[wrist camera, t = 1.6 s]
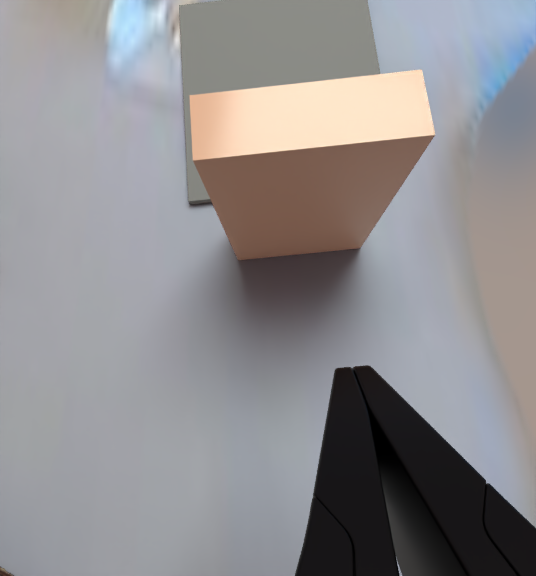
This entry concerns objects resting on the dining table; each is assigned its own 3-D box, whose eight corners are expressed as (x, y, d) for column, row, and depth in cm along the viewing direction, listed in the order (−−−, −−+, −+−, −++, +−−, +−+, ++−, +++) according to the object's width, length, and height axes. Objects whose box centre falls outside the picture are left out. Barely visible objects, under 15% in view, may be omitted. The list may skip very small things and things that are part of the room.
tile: (360, 248, 24) (435, 134, 12) (238, 260, 24) (192, 160, 12) (354, 210, 24) (421, 65, 12) (235, 222, 24) (189, 91, 13)
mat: (396, 183, 24) (399, 179, 24) (190, 204, 25) (188, 201, 24) (363, -10, 28) (364, -17, 27) (180, 11, 28) (179, 5, 27)
